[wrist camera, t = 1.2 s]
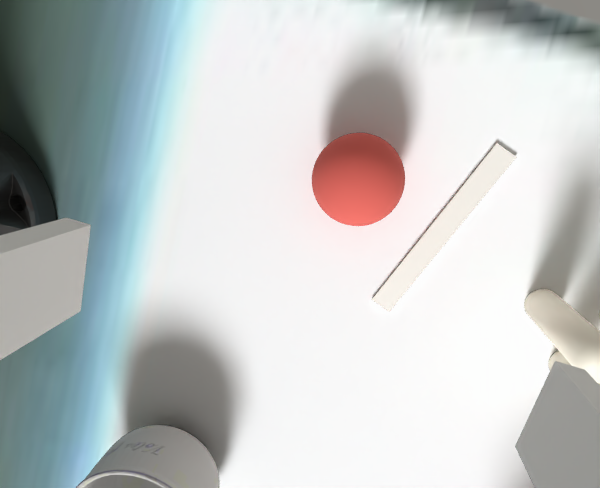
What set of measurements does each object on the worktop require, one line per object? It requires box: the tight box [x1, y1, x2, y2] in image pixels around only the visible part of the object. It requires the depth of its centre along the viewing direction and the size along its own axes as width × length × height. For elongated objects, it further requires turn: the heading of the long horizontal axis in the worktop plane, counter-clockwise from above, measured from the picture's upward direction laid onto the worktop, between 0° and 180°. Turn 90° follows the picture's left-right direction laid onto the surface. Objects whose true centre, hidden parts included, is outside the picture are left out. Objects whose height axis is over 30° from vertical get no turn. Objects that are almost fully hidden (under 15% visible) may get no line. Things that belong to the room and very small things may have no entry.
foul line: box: [372, 143, 516, 312], centre depth 31 cm, size 2×14×1 cm, turn 147°
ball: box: [312, 133, 405, 226], centre depth 28 cm, size 6×6×6 cm
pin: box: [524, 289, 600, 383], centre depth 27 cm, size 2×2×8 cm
